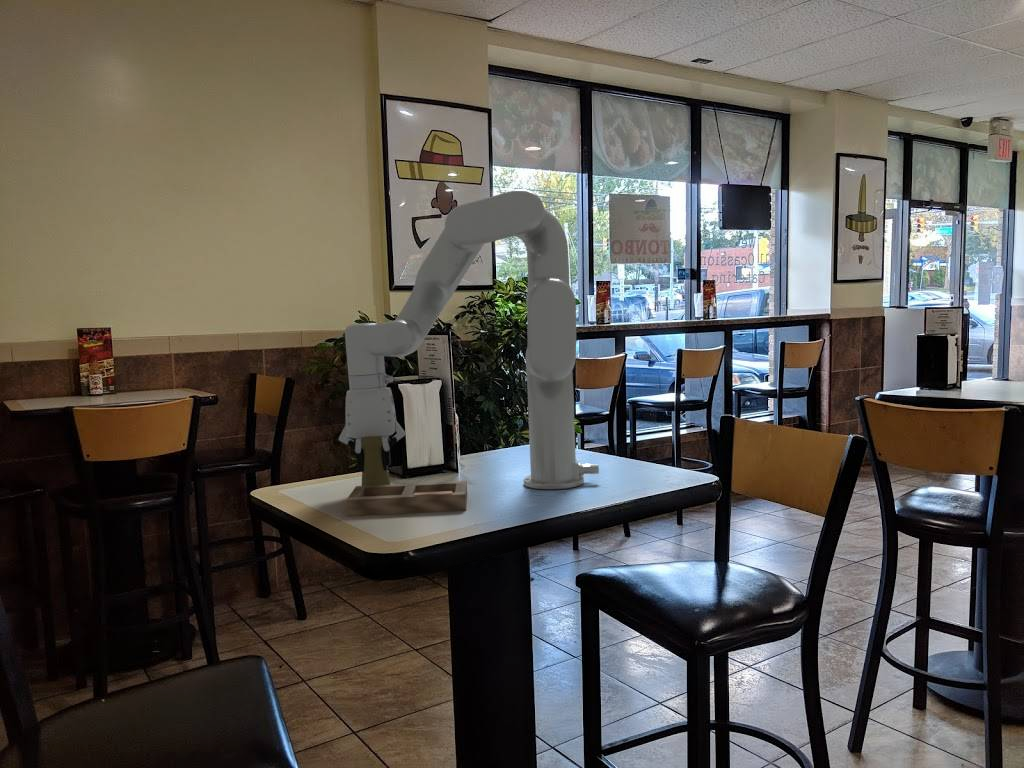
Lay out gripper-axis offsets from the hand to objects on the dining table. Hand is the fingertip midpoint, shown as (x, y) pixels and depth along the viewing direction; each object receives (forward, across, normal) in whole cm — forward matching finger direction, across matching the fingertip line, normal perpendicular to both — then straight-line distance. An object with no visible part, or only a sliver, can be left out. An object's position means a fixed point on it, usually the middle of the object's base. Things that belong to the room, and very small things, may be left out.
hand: (375, 469), depth 166 cm
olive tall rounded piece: (+3, 0, 0) cm, 3 cm away
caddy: (+5, -8, +14) cm, 17 cm away
